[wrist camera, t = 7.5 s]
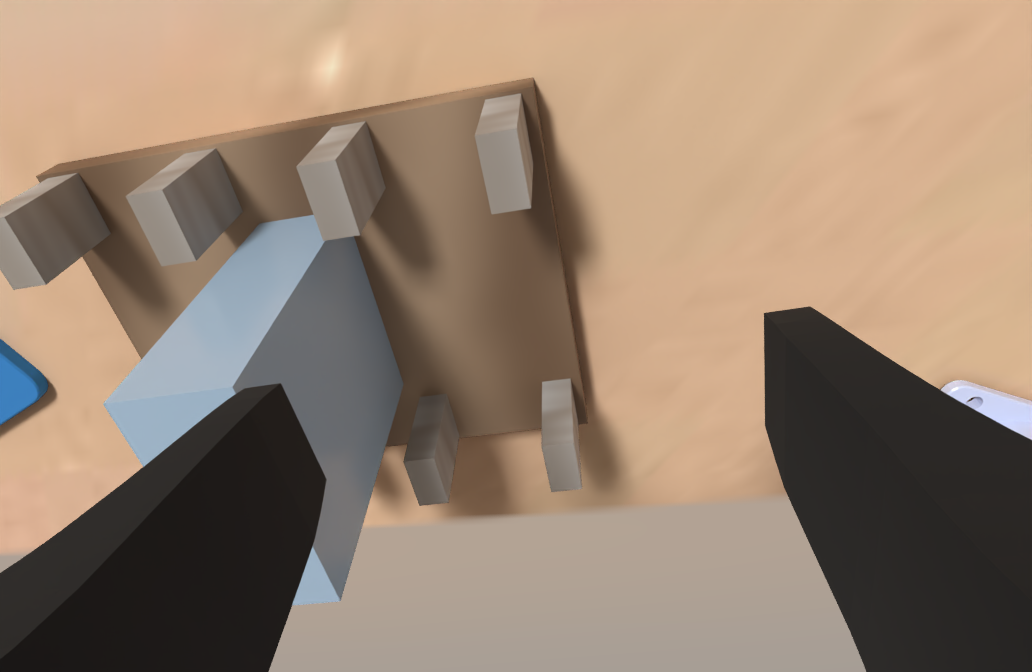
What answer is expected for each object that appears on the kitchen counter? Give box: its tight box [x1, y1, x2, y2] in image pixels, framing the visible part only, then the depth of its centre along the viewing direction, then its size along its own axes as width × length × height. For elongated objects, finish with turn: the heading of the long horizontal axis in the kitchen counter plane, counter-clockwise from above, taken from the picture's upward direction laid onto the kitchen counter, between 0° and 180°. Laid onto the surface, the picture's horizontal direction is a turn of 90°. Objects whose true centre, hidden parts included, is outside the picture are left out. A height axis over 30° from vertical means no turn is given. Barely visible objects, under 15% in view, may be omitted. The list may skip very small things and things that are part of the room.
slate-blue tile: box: [103, 215, 403, 605], centre depth 17 cm, size 2×6×8 cm, turn 10°
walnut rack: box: [0, 78, 588, 506], centre depth 20 cm, size 14×11×4 cm
